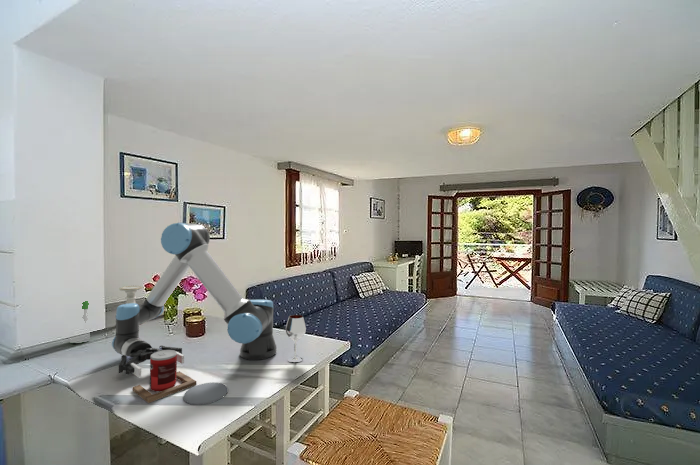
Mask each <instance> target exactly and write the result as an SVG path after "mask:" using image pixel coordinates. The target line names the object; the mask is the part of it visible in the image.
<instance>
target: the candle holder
mask: <svg viewBox="0 0 700 465" xmlns="http://www.w3.org/2000/svg"><path fill="white" fill-rule="evenodd" d="M142 289H143V286H142V285H126V286H125V285H124V286H122V287H119V291H121V292H125V294H126V297H124V298H125V300H126V301H125V304H128V303H136V304H137V302H136V299H137V296H136V295H135V294H136V293H137V291H139V290H140V291H141V290H142Z"/></svg>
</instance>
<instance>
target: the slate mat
mask: <svg viewBox="0 0 700 465" xmlns="http://www.w3.org/2000/svg"><path fill="white" fill-rule="evenodd" d="M228 389H229V388H228V386H227V385H226V384H224V383H222V382H205V383H200V384H196V385H194V386H192V387H189V388H188V389H187V390H186V391H185V392H184V394H183V401H184V402H185V403H186V404H189V405H193V406H195V405H196V406H198V405H199V406H200V405H208V404H211V403H214V402H217V401H220V400H221V399H223V398H224V397H225V396H226V395H227V394H228V392H227V391H228ZM226 393H227V394H226ZM223 396H224V397H223ZM222 397H223V398H222ZM219 399H220V400H219Z"/></svg>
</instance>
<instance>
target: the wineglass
mask: <svg viewBox="0 0 700 465" xmlns="http://www.w3.org/2000/svg"><path fill="white" fill-rule="evenodd" d="M306 330H307V327H306V323H305V319H304V316H303V315H301V314H292V315H289V316H288V319H287V322H286V325H285V333H286V335H287V337H288V338H289V339H290V340H291V341H293V343H294V344H293V345H294V347H293V348H294V349H293V350H294V352H293V357H294V358H293V359H292V360H298V358H297V357H296V356H297V343H298V342H299V341H300V340H301V338H303V337H304V336H305V334H306V332H307V331H306Z"/></svg>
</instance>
